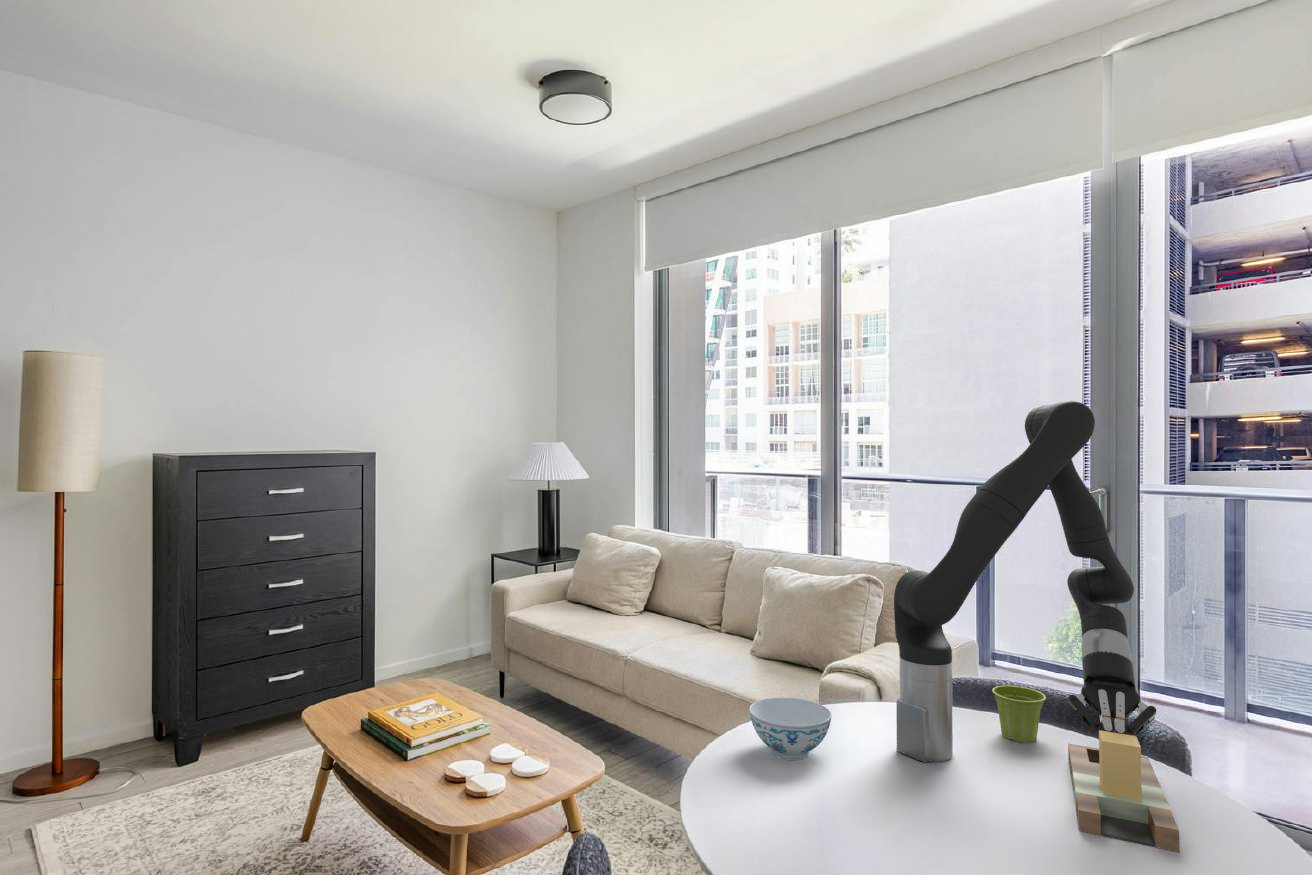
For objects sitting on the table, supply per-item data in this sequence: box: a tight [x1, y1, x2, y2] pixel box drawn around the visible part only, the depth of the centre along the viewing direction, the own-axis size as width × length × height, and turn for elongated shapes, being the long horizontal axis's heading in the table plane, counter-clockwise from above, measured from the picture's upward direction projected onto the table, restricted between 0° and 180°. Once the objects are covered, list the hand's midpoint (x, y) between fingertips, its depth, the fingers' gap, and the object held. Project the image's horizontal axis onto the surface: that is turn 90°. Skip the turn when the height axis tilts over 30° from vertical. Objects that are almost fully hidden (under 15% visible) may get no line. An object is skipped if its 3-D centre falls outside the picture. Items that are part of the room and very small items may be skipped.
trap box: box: [1067, 743, 1181, 853], centre depth 113 cm, size 28×12×3 cm, turn 152°
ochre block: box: [1098, 730, 1142, 801], centre depth 110 cm, size 5×5×8 cm
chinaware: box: [749, 696, 832, 761], centre depth 130 cm, size 15×15×8 cm
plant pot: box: [991, 685, 1047, 744], centre depth 139 cm, size 9×9×9 cm
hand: (1116, 757), depth 112 cm, fingers closed
